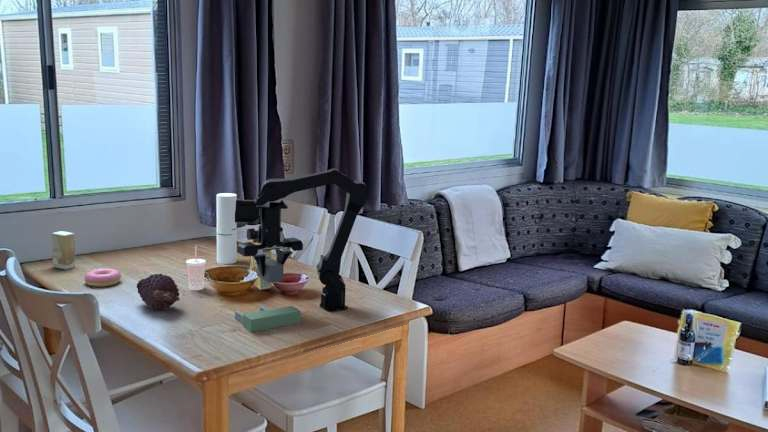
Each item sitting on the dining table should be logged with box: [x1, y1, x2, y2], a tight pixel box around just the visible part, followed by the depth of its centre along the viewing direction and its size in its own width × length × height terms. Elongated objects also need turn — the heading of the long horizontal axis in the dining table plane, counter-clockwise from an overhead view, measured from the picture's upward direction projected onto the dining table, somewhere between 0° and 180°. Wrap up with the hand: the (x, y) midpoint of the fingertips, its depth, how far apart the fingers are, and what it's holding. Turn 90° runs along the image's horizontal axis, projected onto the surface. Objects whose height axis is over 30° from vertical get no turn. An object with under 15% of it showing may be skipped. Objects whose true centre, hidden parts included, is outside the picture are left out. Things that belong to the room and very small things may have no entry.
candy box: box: [249, 240, 272, 291], centre depth 220 cm, size 9×4×15 cm, turn 33°
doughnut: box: [83, 267, 122, 288], centre depth 217 cm, size 11×11×4 cm
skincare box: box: [51, 230, 76, 270], centre depth 231 cm, size 6×4×12 cm
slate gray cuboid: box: [257, 257, 285, 284], centre depth 197 cm, size 4×8×5 cm, turn 35°
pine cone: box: [136, 273, 181, 310], centre depth 195 cm, size 18×10×10 cm, turn 53°
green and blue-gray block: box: [234, 305, 302, 333], centre depth 189 cm, size 15×12×4 cm
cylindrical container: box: [216, 192, 238, 265], centre depth 246 cm, size 7×7×25 cm
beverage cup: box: [185, 245, 207, 291], centre depth 214 cm, size 6×6×14 cm
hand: (270, 275), depth 198 cm, fingers closed on slate gray cuboid, 4 cm apart
